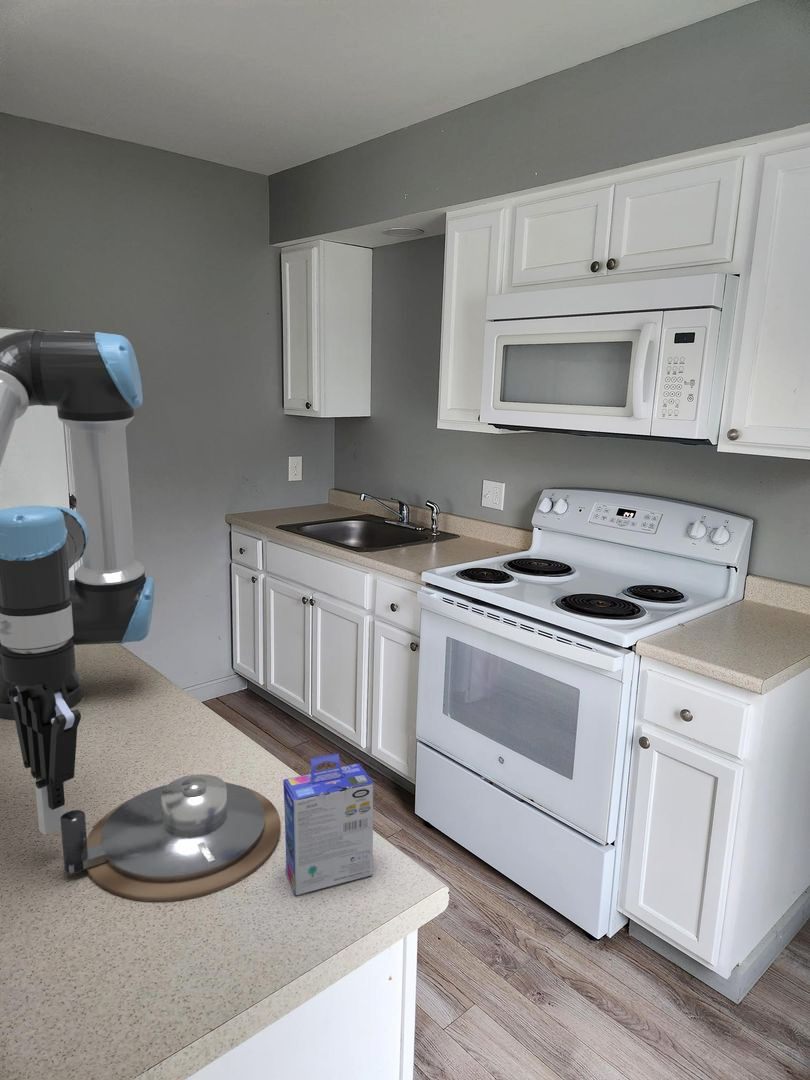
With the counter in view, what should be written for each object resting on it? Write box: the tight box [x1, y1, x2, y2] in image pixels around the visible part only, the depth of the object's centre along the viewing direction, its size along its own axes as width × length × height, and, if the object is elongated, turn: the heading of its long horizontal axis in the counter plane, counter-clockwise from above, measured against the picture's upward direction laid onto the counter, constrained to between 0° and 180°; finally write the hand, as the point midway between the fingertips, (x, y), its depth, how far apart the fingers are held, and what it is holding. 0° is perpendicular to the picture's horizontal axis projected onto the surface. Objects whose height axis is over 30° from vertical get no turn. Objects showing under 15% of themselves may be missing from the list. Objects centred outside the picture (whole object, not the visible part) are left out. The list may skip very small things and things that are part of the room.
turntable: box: [60, 781, 265, 882], centre depth 92 cm, size 20×24×6 cm
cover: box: [161, 774, 227, 838], centre depth 93 cm, size 8×8×5 cm
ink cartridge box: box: [282, 753, 375, 896], centre depth 86 cm, size 10×6×14 cm, turn 114°
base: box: [85, 784, 281, 903], centre depth 94 cm, size 24×24×1 cm
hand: (53, 827), depth 88 cm, fingers closed
